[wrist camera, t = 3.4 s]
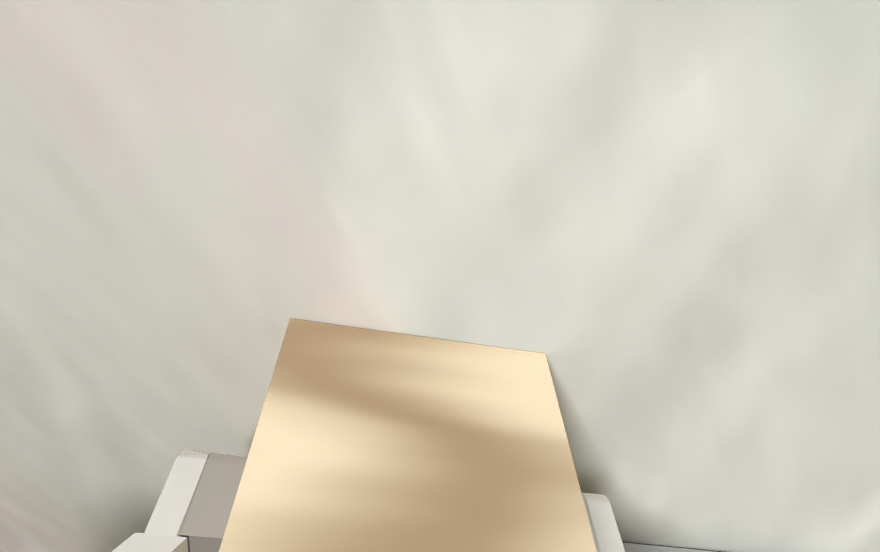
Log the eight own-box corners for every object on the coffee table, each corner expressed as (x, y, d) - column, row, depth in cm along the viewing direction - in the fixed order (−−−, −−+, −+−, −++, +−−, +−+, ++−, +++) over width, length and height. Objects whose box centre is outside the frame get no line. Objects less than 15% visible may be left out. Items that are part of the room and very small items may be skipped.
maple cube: (278, 483, 14) (214, 746, 9) (290, 318, 11) (207, 588, 7) (485, 504, 14) (510, 759, 10) (545, 354, 11) (614, 619, 7)
